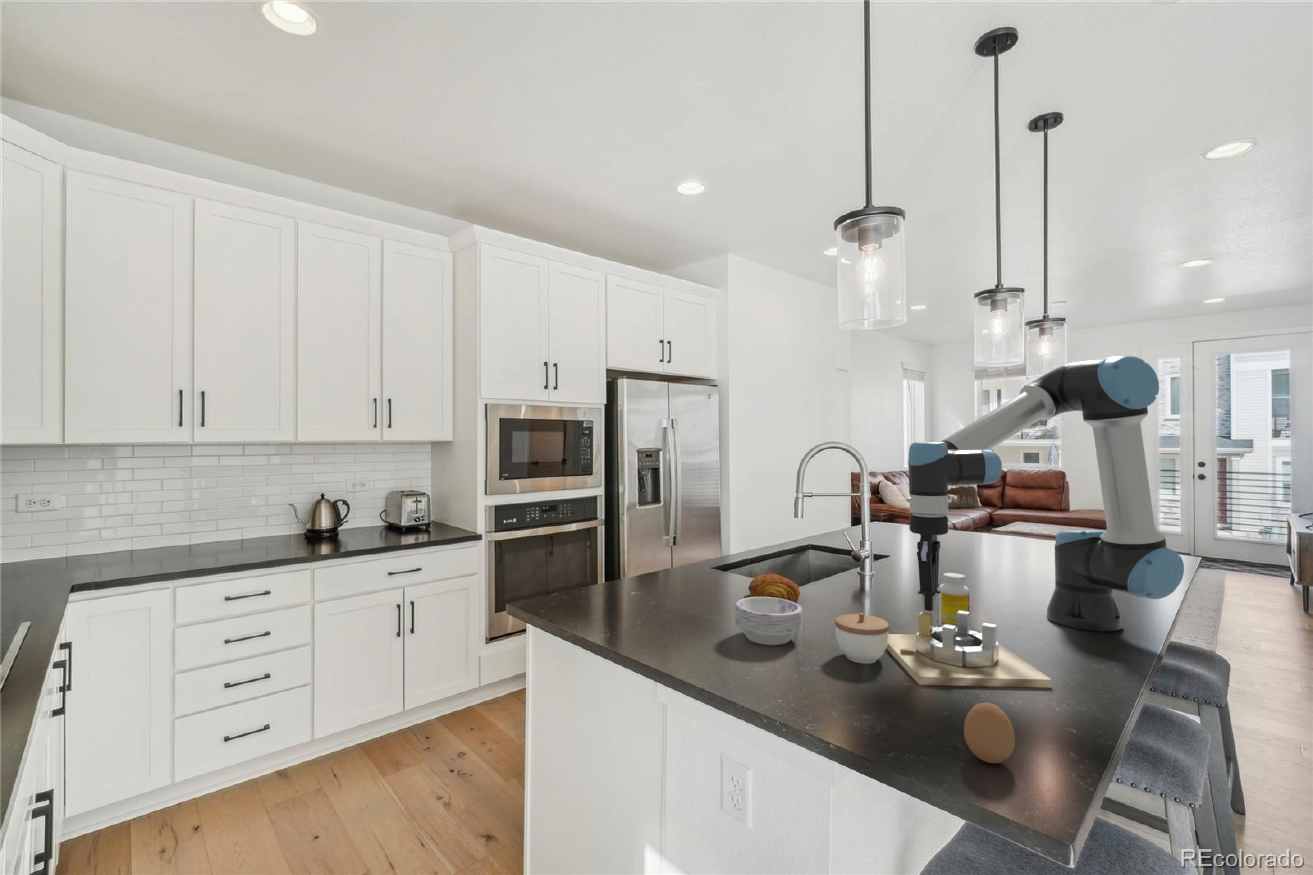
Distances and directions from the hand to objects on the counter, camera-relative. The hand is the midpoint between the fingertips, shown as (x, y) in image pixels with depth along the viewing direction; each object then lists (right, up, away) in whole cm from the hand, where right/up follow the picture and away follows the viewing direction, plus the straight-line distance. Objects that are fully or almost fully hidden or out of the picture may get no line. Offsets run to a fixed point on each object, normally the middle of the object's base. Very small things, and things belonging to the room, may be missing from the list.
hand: (929, 624), depth 127 cm
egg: (-11, -7, -42) cm, 43 cm away
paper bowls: (-33, -7, +10) cm, 35 cm away
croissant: (-25, -7, +43) cm, 50 cm away
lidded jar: (-15, -7, -2) cm, 17 cm away
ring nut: (+4, -5, -4) cm, 7 cm away
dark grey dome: (+4, -5, -4) cm, 7 cm away
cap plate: (+4, -6, -4) cm, 8 cm away
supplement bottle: (+14, -7, +17) cm, 23 cm away
